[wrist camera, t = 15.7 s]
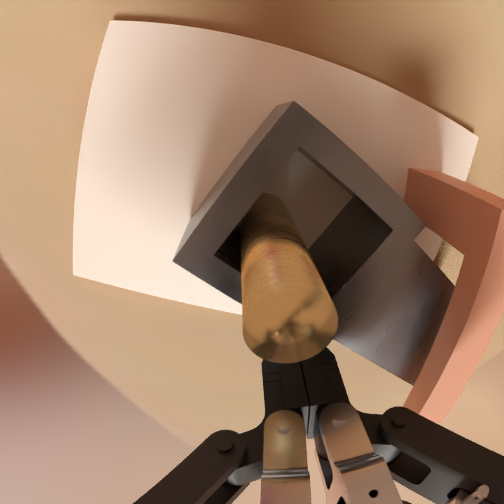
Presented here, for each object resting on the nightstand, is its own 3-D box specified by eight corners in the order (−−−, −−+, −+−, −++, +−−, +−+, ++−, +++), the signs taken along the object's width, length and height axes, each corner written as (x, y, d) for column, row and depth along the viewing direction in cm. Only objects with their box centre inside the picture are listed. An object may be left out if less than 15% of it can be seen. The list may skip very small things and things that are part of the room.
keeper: (404, 165, 13) (501, 209, 7) (437, 170, 13) (534, 214, 7) (366, 343, 17) (407, 431, 11) (396, 340, 17) (441, 422, 11)
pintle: (246, 185, 13) (257, 278, 6) (292, 197, 13) (353, 298, 6) (235, 229, 14) (233, 356, 7) (279, 239, 14) (317, 367, 7)
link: (190, 219, 13) (172, 261, 9) (276, 105, 11) (294, 100, 8) (378, 343, 16) (404, 394, 13) (449, 270, 15) (490, 309, 11)
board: (113, 22, 10) (110, 20, 9) (473, 136, 12) (478, 137, 12) (76, 270, 14) (73, 274, 14) (390, 334, 17) (393, 338, 16)
